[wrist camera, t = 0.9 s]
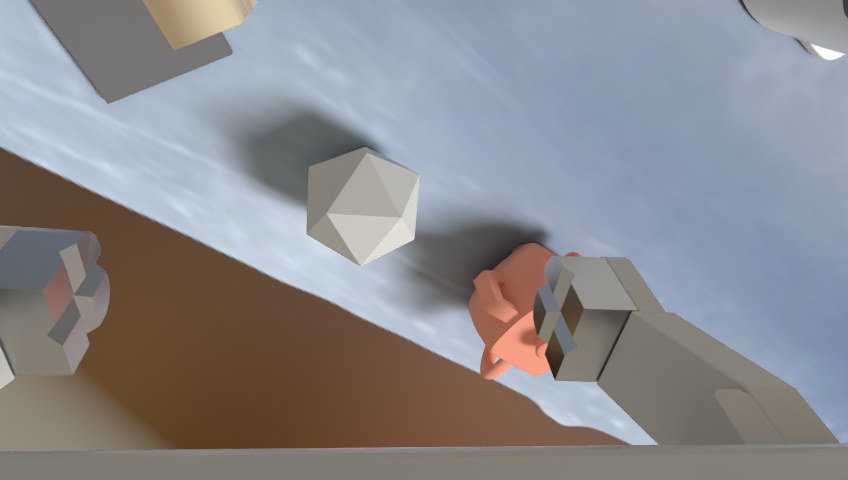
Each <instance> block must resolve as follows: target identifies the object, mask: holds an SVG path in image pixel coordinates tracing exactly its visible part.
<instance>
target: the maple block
mask: <svg viewBox="0 0 848 480" xmlns="http://www.w3.org/2000/svg"><path fill="white" fill-rule="evenodd" d="M143 2H144V4H145V5H146V7H147V8H148V10H149V12H150V13H151V15H152V16H153V18H154V20H155V21H156V23H157V24H158V26H159V28H160V29H161V31H162V32H163V34H164V36H165V37H166V39H167V40H168V42H169V44H170V45H171V47H172V48H173V50H174V51H175V50H177V49H180V48H182V47H185V46H187V45H190V44H192V43H195V42H197V41H199V40H202V39H204V38H207V37H209V36H212V35H214V34H217V33H219V32H221V31H224V30H226V29H229V28H231V27H234V26H236V25H239V24H241V23H242V22H243V21H244V20H245V18H246V17H247V15H248V14H249V13H250V11H251V10H252V8H253V7H254V6H255V4H256V3H257V2H258V0H143Z"/></svg>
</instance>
